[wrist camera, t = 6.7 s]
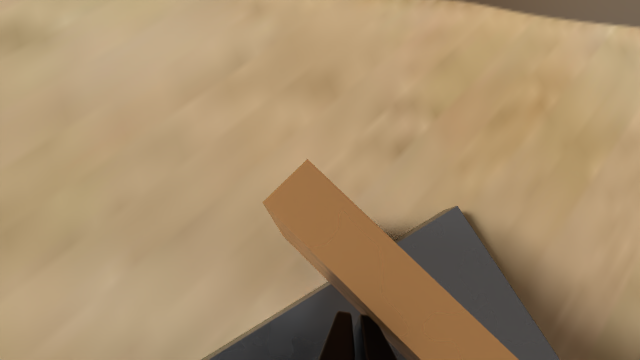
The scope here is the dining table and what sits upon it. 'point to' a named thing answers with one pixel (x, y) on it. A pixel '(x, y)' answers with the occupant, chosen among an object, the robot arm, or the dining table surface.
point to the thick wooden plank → (376, 272)
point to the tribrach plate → (441, 264)
